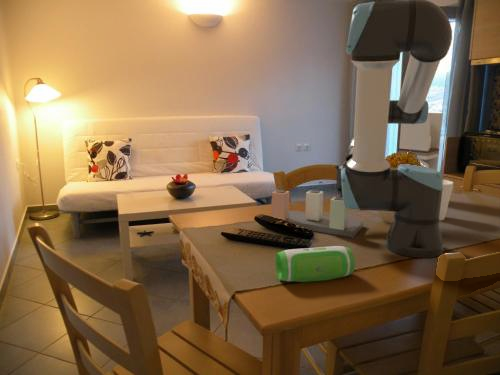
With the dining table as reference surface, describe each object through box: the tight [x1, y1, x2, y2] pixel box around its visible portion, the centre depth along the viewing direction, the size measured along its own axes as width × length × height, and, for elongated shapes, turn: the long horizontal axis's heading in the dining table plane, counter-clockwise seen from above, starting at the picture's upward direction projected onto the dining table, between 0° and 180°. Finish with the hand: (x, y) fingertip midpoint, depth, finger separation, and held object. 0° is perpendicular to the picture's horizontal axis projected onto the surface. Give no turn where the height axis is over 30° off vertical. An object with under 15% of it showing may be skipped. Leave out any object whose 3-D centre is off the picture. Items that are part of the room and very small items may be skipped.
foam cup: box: [439, 179, 454, 221], centre depth 140 cm, size 10×9×13 cm
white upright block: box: [305, 189, 324, 221], centre depth 133 cm, size 4×4×9 cm
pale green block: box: [329, 196, 349, 230], centre depth 124 cm, size 4×4×9 cm
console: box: [269, 209, 365, 239], centre depth 135 cm, size 12×30×2 cm, turn 60°
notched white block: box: [398, 112, 444, 171], centre depth 162 cm, size 11×11×35 cm
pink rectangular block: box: [271, 189, 290, 220], centre depth 134 cm, size 4×4×9 cm
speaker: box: [275, 245, 356, 283], centre depth 96 cm, size 18×7×8 cm, turn 100°
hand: (342, 211), depth 127 cm, fingers closed
